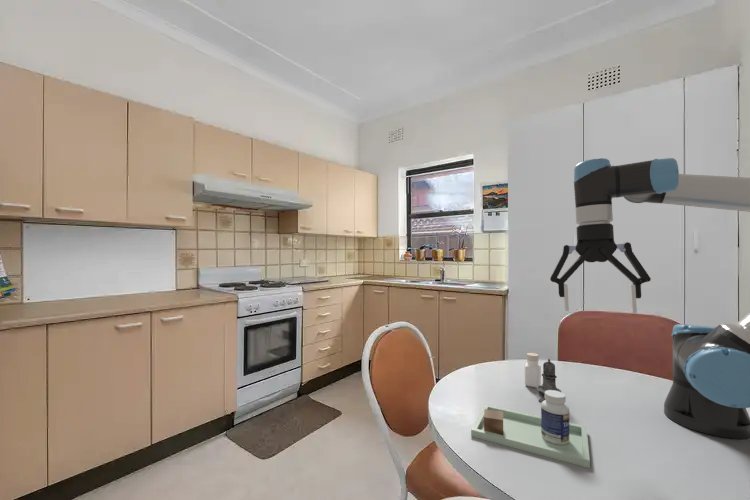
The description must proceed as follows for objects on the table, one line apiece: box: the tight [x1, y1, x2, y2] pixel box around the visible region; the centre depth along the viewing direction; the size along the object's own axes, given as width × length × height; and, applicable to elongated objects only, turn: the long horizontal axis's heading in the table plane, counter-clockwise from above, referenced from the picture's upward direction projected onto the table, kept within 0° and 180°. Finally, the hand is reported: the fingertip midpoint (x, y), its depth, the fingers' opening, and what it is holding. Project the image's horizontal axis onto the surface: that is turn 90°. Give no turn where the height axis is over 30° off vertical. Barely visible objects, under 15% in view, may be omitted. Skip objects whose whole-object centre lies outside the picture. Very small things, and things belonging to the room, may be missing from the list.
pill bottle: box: [540, 390, 570, 445], centre depth 73 cm, size 5×5×10 cm
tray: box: [470, 404, 591, 469], centre depth 74 cm, size 22×14×2 cm, turn 60°
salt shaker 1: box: [524, 352, 542, 389], centre depth 103 cm, size 4×4×10 cm
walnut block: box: [484, 409, 503, 435], centre depth 75 cm, size 4×4×4 cm
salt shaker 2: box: [536, 358, 562, 404], centre depth 91 cm, size 6×6×12 cm
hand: (598, 311), depth 82 cm, fingers open, 13 cm apart
